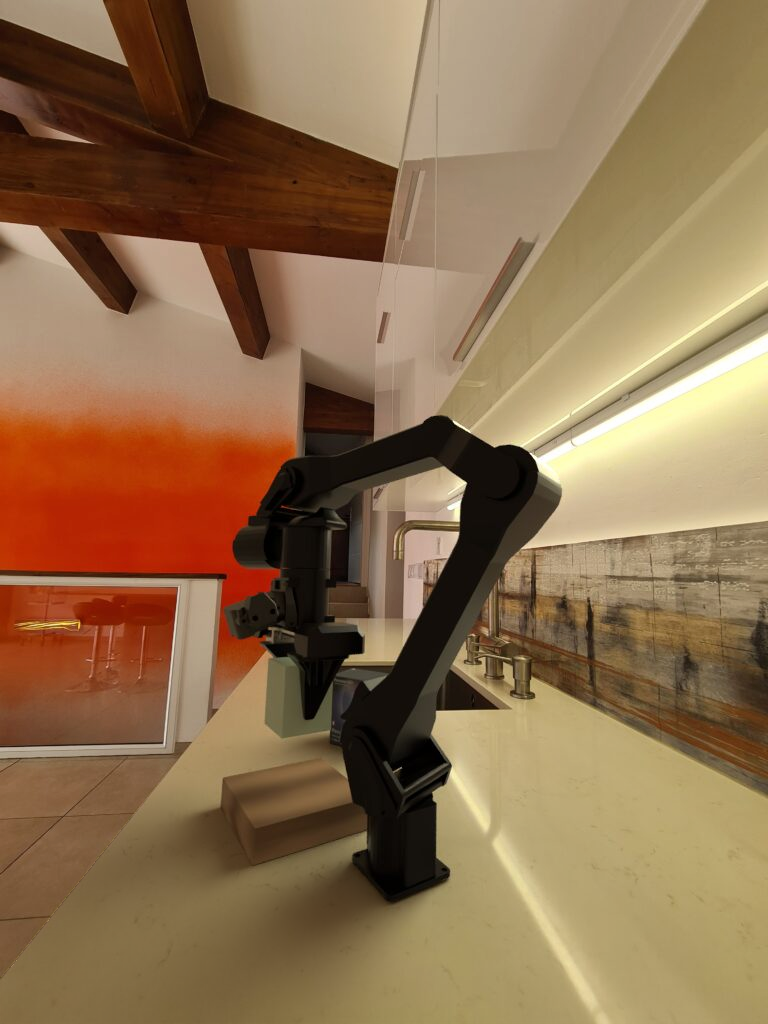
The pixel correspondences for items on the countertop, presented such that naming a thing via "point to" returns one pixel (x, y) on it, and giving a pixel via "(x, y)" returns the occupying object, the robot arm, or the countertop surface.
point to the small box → (345, 696)
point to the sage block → (291, 702)
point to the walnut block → (290, 808)
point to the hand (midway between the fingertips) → (298, 712)
